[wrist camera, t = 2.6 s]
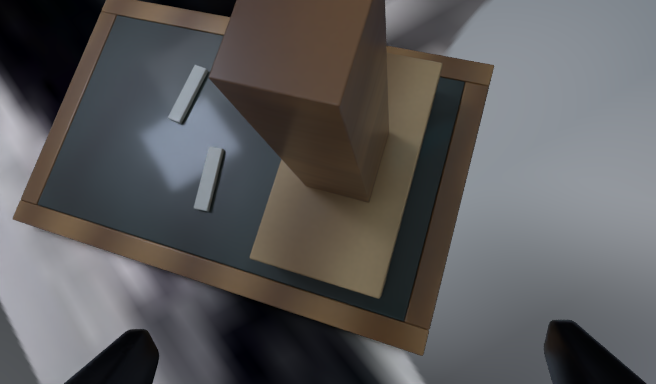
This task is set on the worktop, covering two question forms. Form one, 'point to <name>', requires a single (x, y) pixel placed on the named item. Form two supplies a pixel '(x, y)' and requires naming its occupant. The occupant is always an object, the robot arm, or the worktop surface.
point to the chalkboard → (229, 174)
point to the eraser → (328, 131)
